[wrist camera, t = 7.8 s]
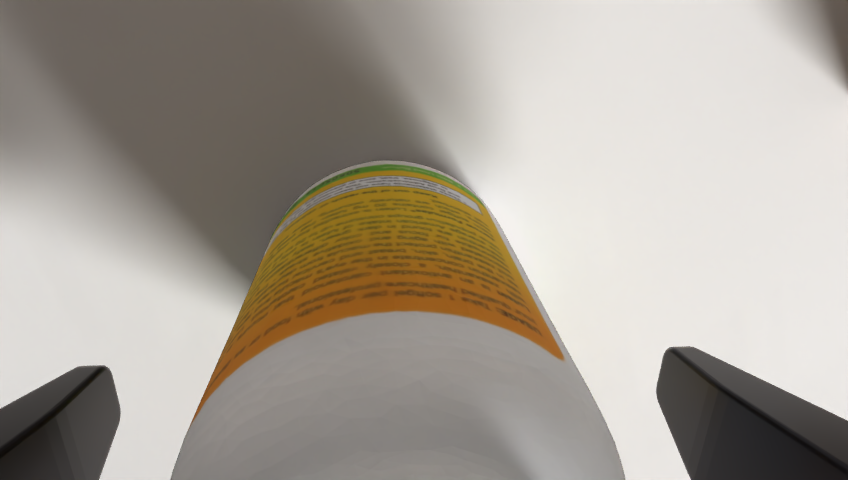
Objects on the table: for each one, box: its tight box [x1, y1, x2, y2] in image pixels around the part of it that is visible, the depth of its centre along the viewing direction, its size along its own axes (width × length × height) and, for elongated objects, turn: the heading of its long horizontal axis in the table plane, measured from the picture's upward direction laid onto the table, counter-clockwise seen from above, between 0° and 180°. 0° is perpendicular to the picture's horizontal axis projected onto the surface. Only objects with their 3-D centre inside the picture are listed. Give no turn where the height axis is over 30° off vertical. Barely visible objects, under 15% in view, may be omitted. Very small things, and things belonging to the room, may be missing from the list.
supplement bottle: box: [171, 160, 625, 480], centre depth 8 cm, size 5×5×10 cm
